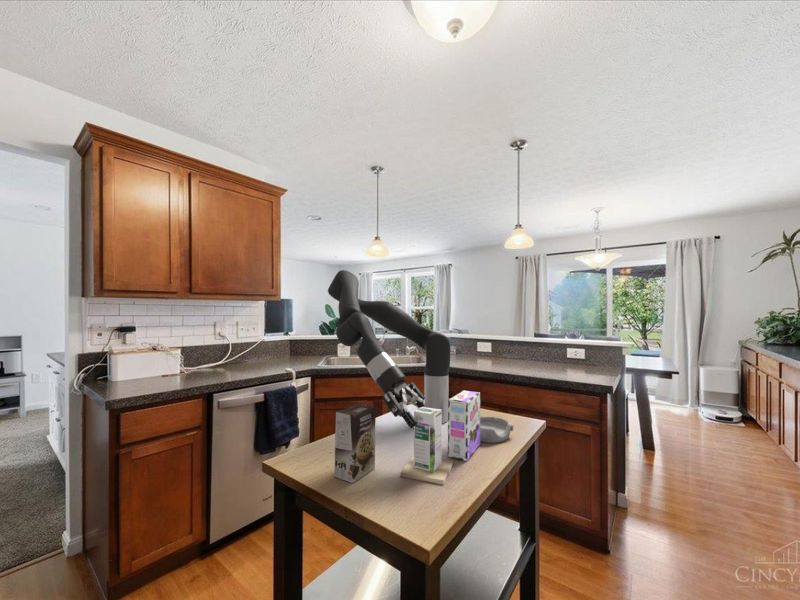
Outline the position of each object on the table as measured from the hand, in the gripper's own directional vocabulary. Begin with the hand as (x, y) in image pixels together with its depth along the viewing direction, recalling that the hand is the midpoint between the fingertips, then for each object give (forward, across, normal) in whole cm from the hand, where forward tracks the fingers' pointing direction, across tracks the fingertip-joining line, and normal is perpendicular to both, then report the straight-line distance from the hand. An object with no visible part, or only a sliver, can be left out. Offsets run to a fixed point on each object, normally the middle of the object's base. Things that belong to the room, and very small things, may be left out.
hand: (422, 421), depth 87 cm
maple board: (+10, 0, -8) cm, 12 cm away
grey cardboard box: (-1, +11, -18) cm, 21 cm away
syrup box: (+9, 0, -7) cm, 12 cm away
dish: (+15, -33, -3) cm, 36 cm away
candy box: (+13, -17, -5) cm, 22 cm away
